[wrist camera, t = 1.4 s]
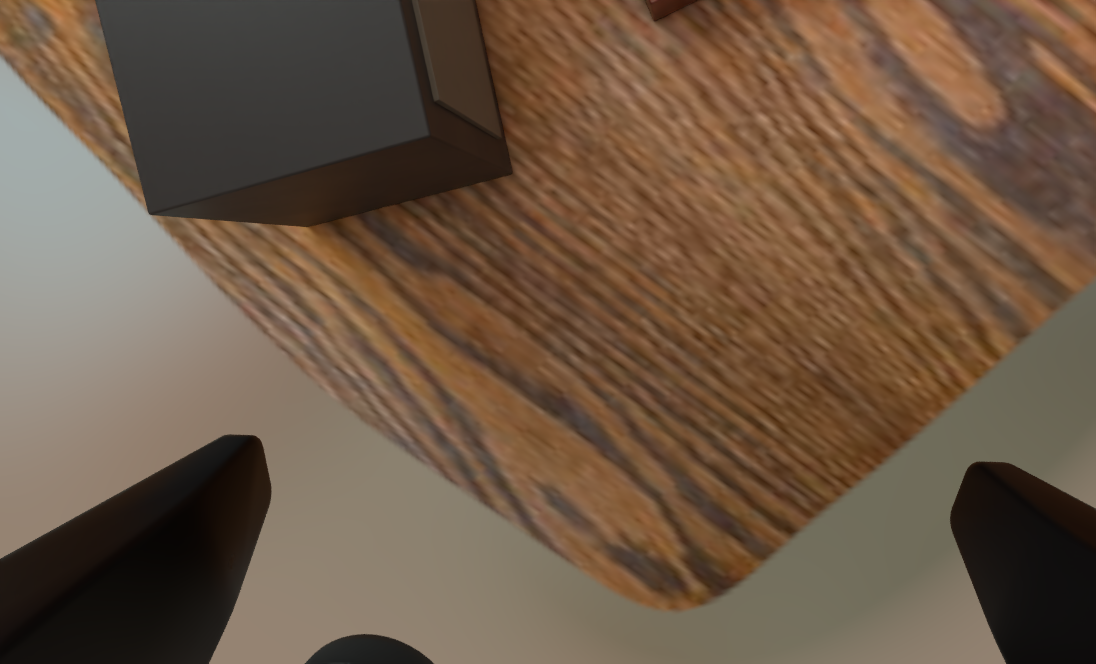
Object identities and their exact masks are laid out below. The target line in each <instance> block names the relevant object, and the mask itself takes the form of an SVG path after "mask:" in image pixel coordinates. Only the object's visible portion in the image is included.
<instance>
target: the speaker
mask: <svg viewBox="0 0 1096 664" xmlns="http://www.w3.org/2000/svg"><path fill="white" fill-rule="evenodd" d="M95 1H96V5H97V9H98V13H99V17H100V21H101V25H102V29H103V33H104V37H105V41H106V45H107V49H108V53H109V57H110V61H111V65H112V69H113V73H114V77H115V81H116V85H117V89H118V93H119V97H120V101H121V105H122V109H123V113H124V117H125V121H126V125H127V129H128V133H129V137H130V141H131V145H132V149H133V153H134V157H135V161H136V165H137V169H138V173H139V177H140V181H141V185H142V189H143V193H144V197H145V201H146V205H147V209H148V213H149V214H150V215H159V216H172V217H184V218H197V219H210V220H223V221H236V222H249V223H262V224H275V225H288V226H301V227H309V226H313V225H317V224H321V223H324V222H328V221H332V220H336V219H340V218H344V217H348V216H352V215H355V214H359V213H363V212H367V211H371V210H375V209H379V208H383V207H386V206H390V205H394V204H398V203H402V202H406V201H410V200H414V199H417V198H421V197H425V196H429V195H433V194H437V193H441V192H445V191H448V190H452V189H456V188H460V187H464V186H468V185H472V184H476V183H479V182H483V181H487V180H491V179H495V178H499V177H503V176H507V175H510V174H512V168H511V164H510V159H509V154H508V150H507V145H506V141H505V136H504V131H503V127H502V122H501V117H500V113H499V108H498V104H497V99H496V94H495V90H494V85H493V80H492V76H491V71H490V67H489V62H488V57H487V53H486V48H485V43H484V39H483V34H482V30H481V25H480V20H479V16H478V11H477V6H476V2H475V0H95Z"/></svg>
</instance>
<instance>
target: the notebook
mask: <svg viewBox="0 0 1096 664" xmlns="http://www.w3.org/2000/svg"><path fill="white" fill-rule="evenodd" d="M645 1H646V4H647V6H648V9H649V11H650V14H651V16H652V19H653V20H654V21H656V20H658V19H660V18H662V17H664V16H666V15H668V14H670V13H672V12H674V11H676V10H678V9H680V8H682V7H684V6H686V5H688V4H690V3H692V2H694V1H696V0H645Z"/></svg>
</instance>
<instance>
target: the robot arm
mask: <svg viewBox="0 0 1096 664" xmlns="http://www.w3.org/2000/svg"><path fill="white" fill-rule="evenodd" d="M270 500H271V483H270V478H269V473H268V468H267V464H266V458H265V453H264V449H263V445H262V442H261V441H260V439H259V438H257V437H256V436H253V435H224V436H222V437H220V438H218V439H216V440H214V441H213V442H211V443H209V444H207V445H205V446H204V447H202V448H200V449H198V450H196V451H195V452H193V453H191V454H189V455H187V456H186V457H184V458H182V459H180V460H178V461H176V462H175V463H173V464H171V465H169V466H168V467H166V468H164V469H162V470H160V471H158V472H157V473H155V474H153V475H151V476H149V477H148V478H146V479H144V480H142V481H140V482H139V483H137V484H135V485H133V486H131V487H129V488H128V489H126V490H124V491H122V492H120V493H119V494H117V495H115V496H113V497H111V498H109V499H108V500H106V501H104V502H102V503H101V504H99V505H97V506H95V507H93V508H91V509H90V510H88V511H86V512H84V513H82V514H81V515H79V516H77V517H75V518H73V519H72V520H70V521H68V522H66V523H64V524H62V525H61V526H59V527H57V528H55V529H54V530H52V531H50V532H48V533H46V534H44V535H43V536H41V537H39V538H37V539H35V540H33V541H32V542H30V543H28V544H26V545H24V546H23V547H21V548H19V549H17V550H15V551H14V552H12V553H10V554H8V555H6V556H4V557H3V558H1V559H0V664H209V662H210V660H211V657H212V655H213V653H214V651H215V649H216V647H217V645H218V642H219V641H220V638H221V636H222V634H223V632H224V629H225V627H226V625H227V623H228V621H229V618H230V616H231V614H232V612H233V609H234V606H235V603H236V601H237V598H238V595H239V593H240V590H241V586H242V584H243V581H244V578H245V575H246V572H247V569H248V566H249V563H250V561H251V557H252V555H253V552H254V549H255V546H256V543H257V540H258V537H259V534H260V531H261V528H262V525H263V523H264V520H265V517H266V514H267V511H268V508H269V505H270ZM950 524H951V529H952V532H953V534H954V538H955V540H956V542H957V545H958V548H959V550H960V553H961V555H962V558H963V560H964V563H965V566H966V568H967V571H968V573H969V576H970V578H971V581H972V584H973V586H974V589H975V591H976V594H977V596H978V599H979V601H980V604H981V607H982V609H983V612H984V614H985V617H986V619H987V622H988V625H989V627H990V629H991V632H992V634H993V636H994V639H995V641H996V643H997V645H998V647H999V649H1000V652H1001V653H1002V656H1003V658H1004V660H1005V662H1006V664H1096V509H1095V508H1094V507H1092V506H1090V505H1088V504H1086V503H1084V502H1082V501H1080V500H1078V499H1077V498H1074V497H1073V496H1071V495H1069V494H1067V493H1065V492H1063V491H1061V490H1059V489H1058V488H1056V487H1054V486H1052V485H1050V484H1048V483H1046V482H1044V481H1043V480H1041V479H1039V478H1037V477H1035V476H1033V475H1031V474H1029V473H1027V472H1026V471H1023V470H1022V469H1020V468H1018V467H1016V466H1014V465H1012V464H1009V463H1004V462H975V463H973V464H971V465H970V466H969V467H968V469H967V471H966V473H965V476H964V478H963V481H962V483H961V486H960V489H959V491H958V494H957V496H956V499H955V502H954V504H953V507H952V510H951V516H950Z"/></svg>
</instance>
